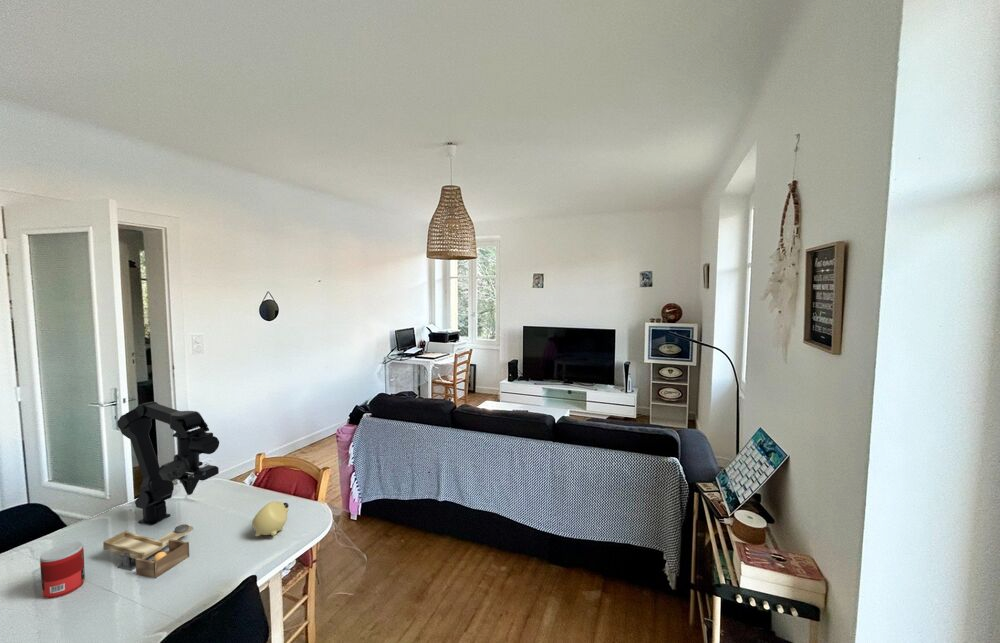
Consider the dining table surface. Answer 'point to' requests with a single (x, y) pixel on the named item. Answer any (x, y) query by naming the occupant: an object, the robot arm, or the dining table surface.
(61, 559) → the canned food
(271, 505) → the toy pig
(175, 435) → the robot arm
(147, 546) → the lever
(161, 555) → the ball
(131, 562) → the fulcrum
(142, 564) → the tray
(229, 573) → the dining table surface
